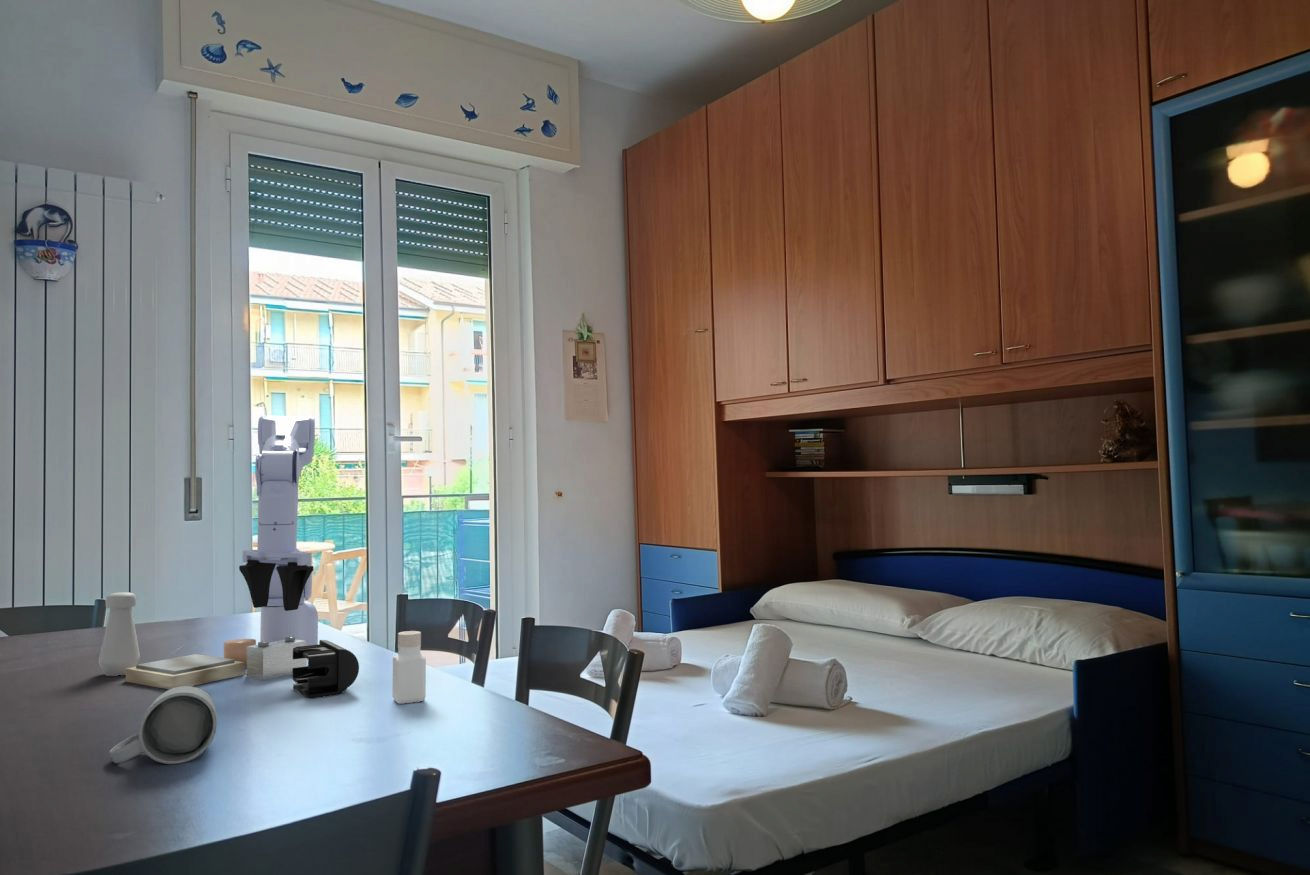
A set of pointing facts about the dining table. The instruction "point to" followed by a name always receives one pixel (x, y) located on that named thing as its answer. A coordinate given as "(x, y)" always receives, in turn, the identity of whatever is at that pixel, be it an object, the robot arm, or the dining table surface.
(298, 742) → the dining table surface
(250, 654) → the alloy housing
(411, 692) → the pepper shaker
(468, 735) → the dining table surface
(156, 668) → the birch plinth
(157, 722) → the ceramic mug
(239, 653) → the peach rounded cylinder
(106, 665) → the salt shaker
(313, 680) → the end cap
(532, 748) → the dining table surface
